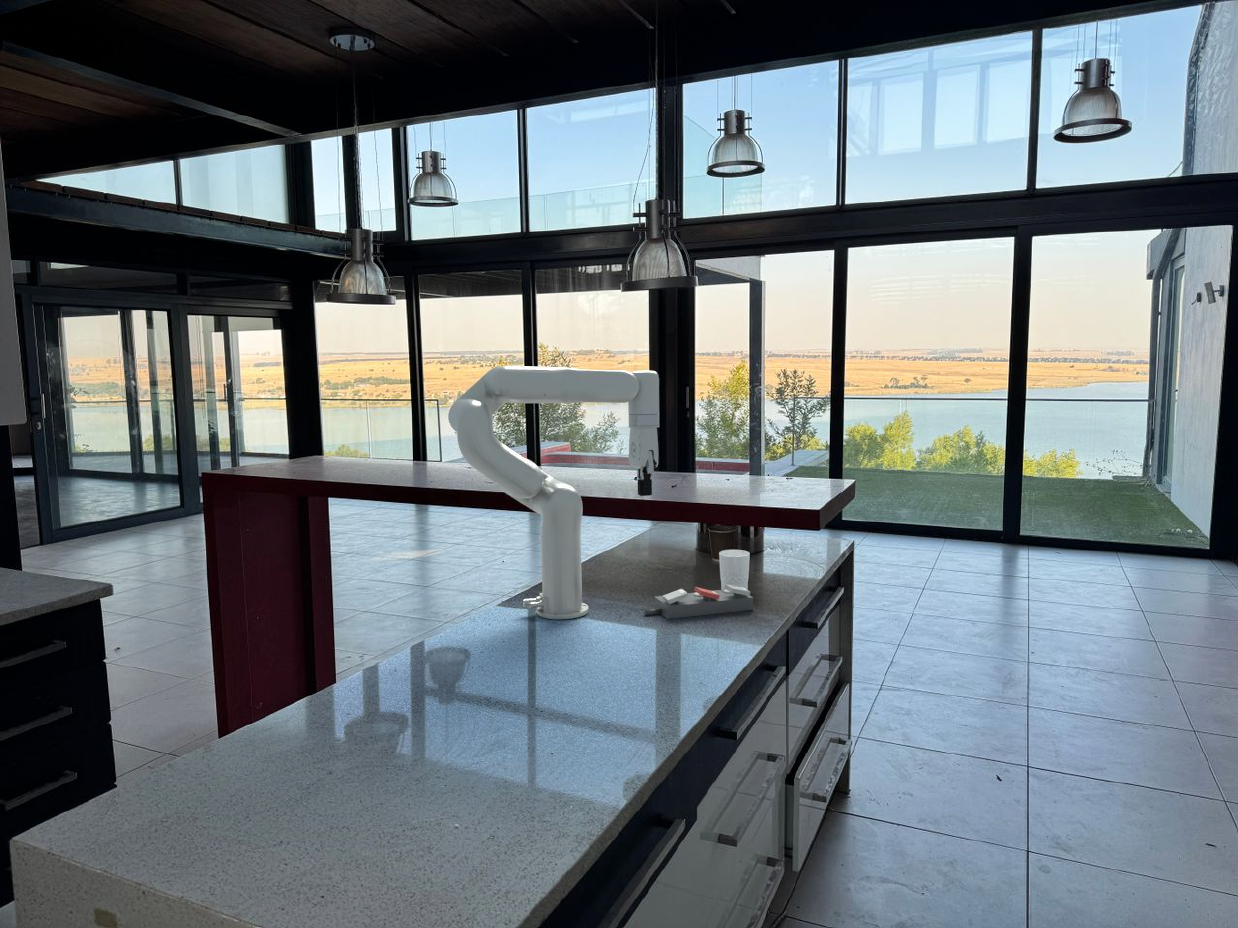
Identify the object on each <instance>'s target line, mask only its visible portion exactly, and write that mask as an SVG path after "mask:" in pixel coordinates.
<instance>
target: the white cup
mask: <svg viewBox="0 0 1238 928" xmlns="http://www.w3.org/2000/svg"><path fill="white" fill-rule="evenodd" d="M750 554H751V553H750V551H747V550H742V549H724V550H721V551H719V552H718V556H719V575H720V583H721V584H720V585H721V587H720V588H721V589H720V590H725V584H726V585H732V586H737V587H743V588H745V589H747V590H748V589H749V588H748V587H749V583H748V582H749V576H750V575H749V574H750V573H749V572H750ZM748 591H749V590H748Z"/></svg>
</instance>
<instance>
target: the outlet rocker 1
mask: <svg viewBox="0 0 1238 928" xmlns="http://www.w3.org/2000/svg"><path fill="white" fill-rule="evenodd" d="M688 593H689V592H687V591H686V590H684V589H683V588H679V589H677V590H674V591H671V592H669V593H666V594H663V595H662V596H663V599H664V600H665V601H666V602H667V603H669V604H671V603H674V602H676V601H679V600H681V599H684V598H687V597H689V596H688Z"/></svg>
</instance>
